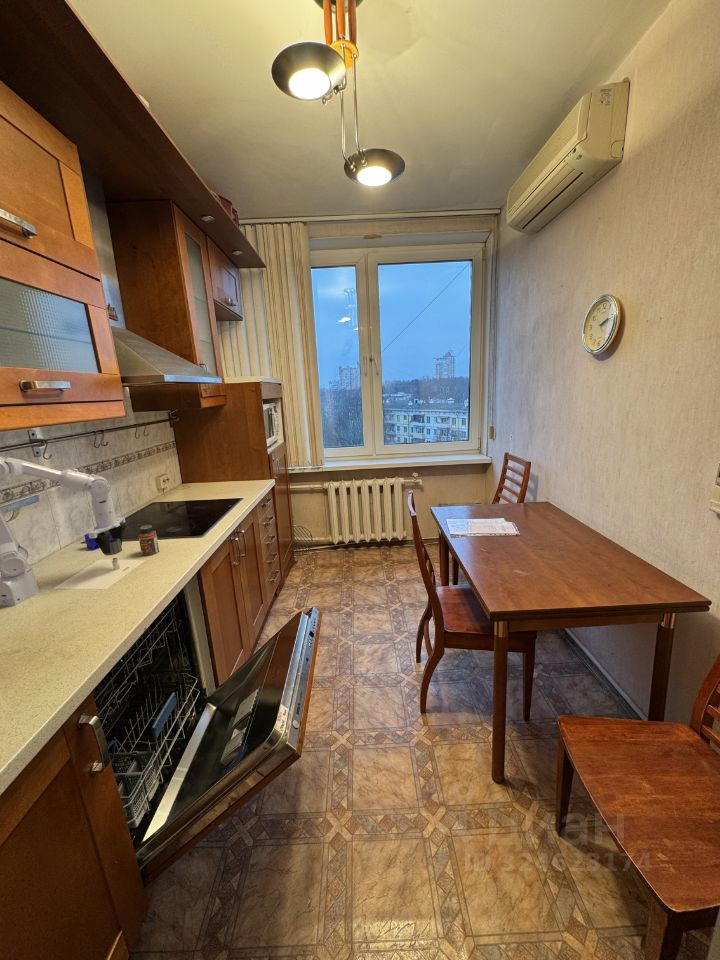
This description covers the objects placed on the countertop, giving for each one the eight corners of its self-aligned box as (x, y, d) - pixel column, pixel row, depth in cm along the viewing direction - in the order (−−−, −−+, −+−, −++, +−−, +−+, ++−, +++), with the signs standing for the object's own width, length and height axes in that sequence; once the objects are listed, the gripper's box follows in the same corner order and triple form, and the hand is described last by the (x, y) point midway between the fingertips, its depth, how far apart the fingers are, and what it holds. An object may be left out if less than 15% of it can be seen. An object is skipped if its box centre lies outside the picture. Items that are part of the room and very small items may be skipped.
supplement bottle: (140, 559, 141) (134, 530, 138) (144, 552, 146) (139, 525, 143) (157, 556, 142) (152, 528, 139) (161, 550, 148) (156, 523, 145)
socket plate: (106, 591, 119) (103, 577, 118) (53, 590, 121) (49, 577, 119) (146, 561, 138) (143, 549, 137) (100, 561, 140) (97, 549, 139)
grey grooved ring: (115, 555, 128) (112, 544, 127) (100, 555, 128) (98, 544, 127) (125, 548, 133) (123, 538, 132) (111, 548, 133) (109, 538, 132)
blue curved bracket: (93, 550, 150) (90, 536, 148) (87, 548, 152) (84, 534, 150) (124, 539, 160) (121, 526, 158) (118, 537, 162) (115, 524, 161)
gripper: (99, 519, 119) (108, 559, 123) (130, 505, 133) (137, 540, 137) (78, 519, 120) (88, 559, 123) (111, 505, 134) (118, 540, 137)
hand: (112, 549), depth 130 cm, fingers closed on grey grooved ring, 5 cm apart
